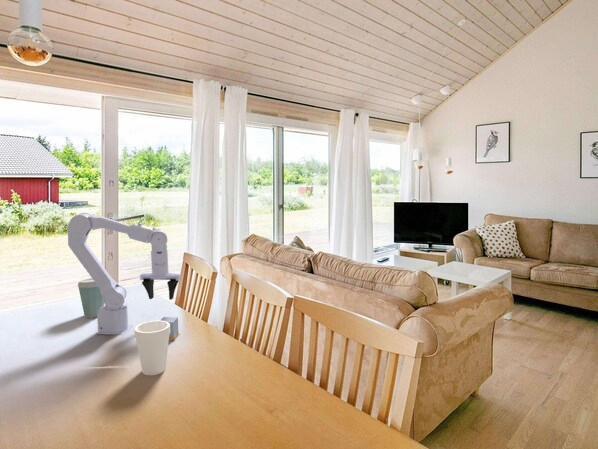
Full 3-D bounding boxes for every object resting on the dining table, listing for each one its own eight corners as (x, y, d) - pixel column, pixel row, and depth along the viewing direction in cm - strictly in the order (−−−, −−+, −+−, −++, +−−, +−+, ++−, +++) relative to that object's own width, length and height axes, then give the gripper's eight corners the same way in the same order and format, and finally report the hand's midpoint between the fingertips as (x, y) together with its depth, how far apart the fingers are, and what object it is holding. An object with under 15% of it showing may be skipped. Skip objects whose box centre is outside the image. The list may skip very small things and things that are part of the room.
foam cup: (178, 366, 113) (176, 323, 112) (154, 381, 105) (152, 335, 104) (154, 359, 117) (152, 318, 116) (129, 373, 109) (127, 329, 107)
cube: (158, 336, 131) (158, 322, 130) (164, 330, 136) (163, 317, 135) (173, 336, 131) (173, 322, 130) (178, 330, 136) (177, 317, 135)
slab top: (156, 341, 130) (156, 337, 130) (160, 334, 136) (160, 330, 136) (174, 340, 131) (174, 336, 130) (178, 333, 136) (178, 329, 136)
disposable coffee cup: (72, 318, 152) (70, 281, 150) (94, 309, 162) (92, 274, 161) (94, 321, 149) (92, 283, 147) (115, 312, 159) (113, 276, 158)
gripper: (135, 264, 138) (137, 301, 140) (174, 265, 137) (176, 302, 139) (144, 260, 145) (146, 295, 147) (182, 261, 144) (183, 296, 146)
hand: (161, 298), depth 144 cm, fingers open, 7 cm apart
